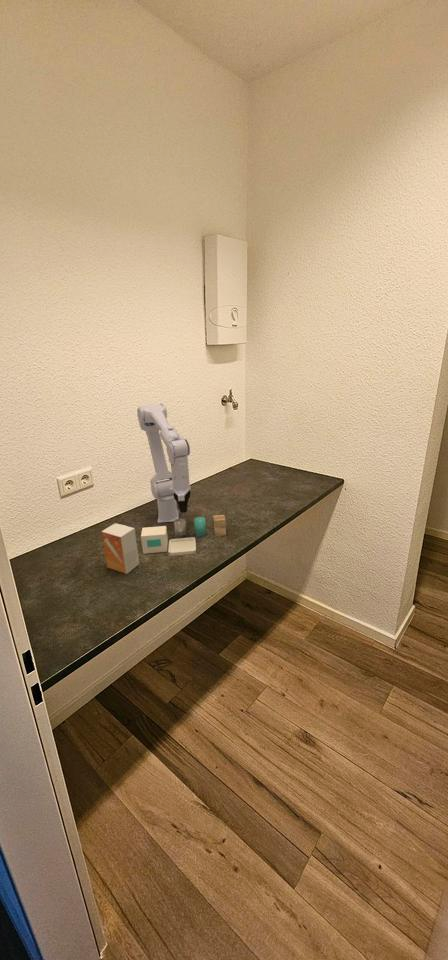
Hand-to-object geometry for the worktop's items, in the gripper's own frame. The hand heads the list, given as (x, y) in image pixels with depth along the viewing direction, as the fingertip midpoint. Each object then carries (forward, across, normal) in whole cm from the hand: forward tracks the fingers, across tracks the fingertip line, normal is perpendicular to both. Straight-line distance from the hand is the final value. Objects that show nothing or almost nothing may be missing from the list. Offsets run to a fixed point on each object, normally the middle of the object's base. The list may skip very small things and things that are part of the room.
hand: (183, 511), depth 137 cm
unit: (+10, +7, -10) cm, 15 cm away
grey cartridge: (+10, -1, -2) cm, 10 cm away
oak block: (+10, -1, +12) cm, 16 cm away
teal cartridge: (+10, -1, +5) cm, 11 cm away
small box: (+10, +16, -19) cm, 27 cm away
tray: (+10, +8, -1) cm, 12 cm away
